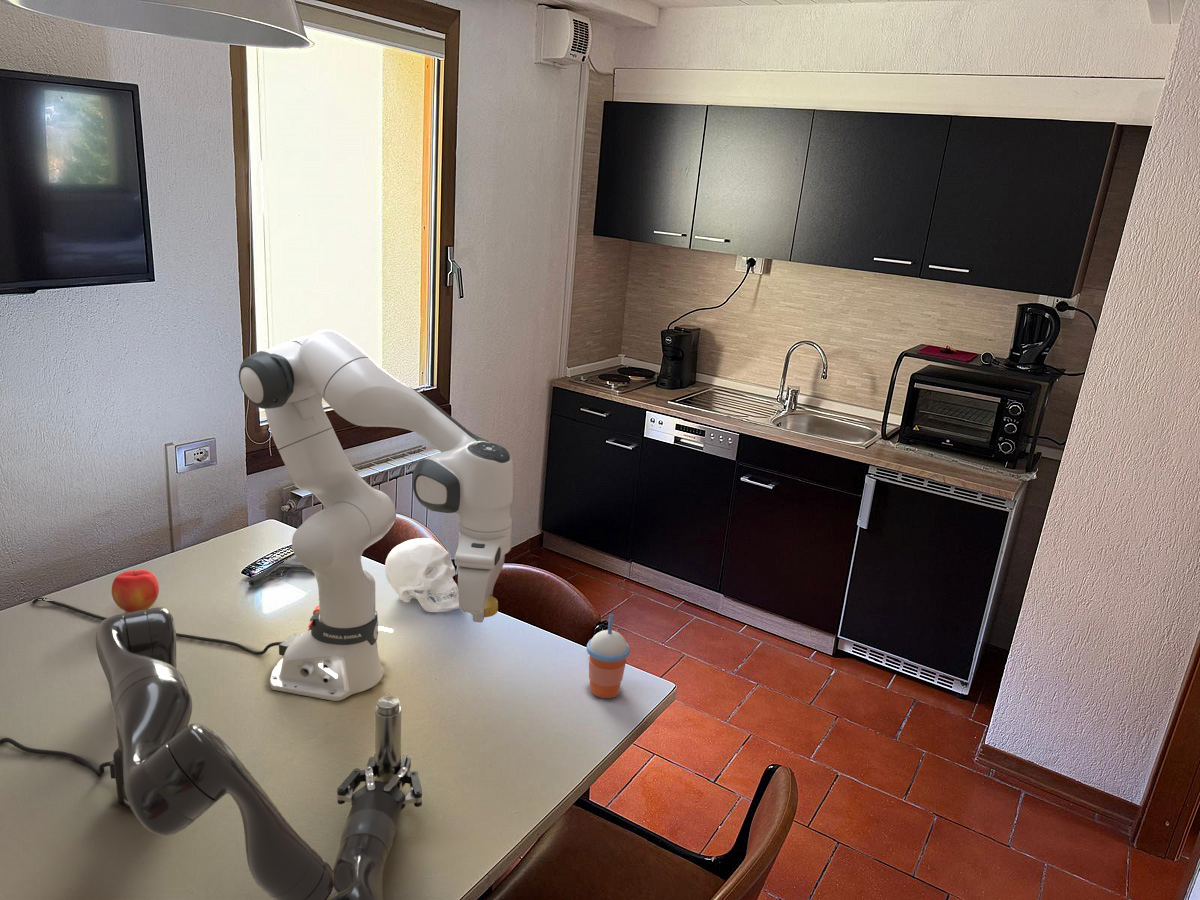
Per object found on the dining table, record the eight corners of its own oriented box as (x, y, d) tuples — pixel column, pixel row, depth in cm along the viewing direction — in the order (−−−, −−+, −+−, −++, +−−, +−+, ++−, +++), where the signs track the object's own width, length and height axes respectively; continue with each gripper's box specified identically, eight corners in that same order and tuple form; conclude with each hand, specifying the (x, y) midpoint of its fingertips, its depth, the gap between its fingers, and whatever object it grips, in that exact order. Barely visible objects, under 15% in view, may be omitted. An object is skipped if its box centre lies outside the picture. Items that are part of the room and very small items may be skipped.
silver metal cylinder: (372, 808, 143) (372, 708, 137) (377, 791, 147) (377, 693, 141) (398, 809, 143) (399, 709, 137) (402, 792, 147) (403, 694, 141)
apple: (163, 615, 196) (160, 576, 193) (116, 624, 191) (112, 584, 188) (157, 598, 204) (154, 559, 201) (111, 606, 199) (107, 567, 196)
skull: (448, 622, 203) (451, 561, 199) (372, 599, 211) (374, 540, 207) (477, 602, 215) (480, 543, 211) (405, 581, 223) (406, 524, 219)
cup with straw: (621, 706, 176) (629, 628, 171) (578, 698, 178) (585, 621, 173) (629, 682, 185) (636, 608, 180) (588, 675, 186) (594, 601, 181)
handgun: (292, 594, 211) (247, 586, 213) (325, 565, 228) (283, 558, 229) (291, 586, 211) (246, 578, 212) (325, 557, 227) (283, 550, 229)
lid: (501, 606, 149) (502, 597, 149) (491, 619, 145) (492, 610, 144) (475, 601, 150) (475, 592, 150) (464, 614, 146) (464, 605, 145)
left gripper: (417, 811, 129) (433, 741, 145) (321, 808, 128) (348, 737, 144) (416, 852, 131) (432, 778, 147) (322, 849, 130) (348, 775, 147)
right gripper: (480, 513, 153) (477, 583, 158) (452, 560, 134) (449, 639, 138) (514, 517, 153) (511, 587, 157) (491, 565, 134) (488, 643, 138)
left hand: (390, 758), depth 146 cm, fingers closed on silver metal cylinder, 4 cm apart
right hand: (482, 611), depth 147 cm, fingers closed on lid, 5 cm apart
